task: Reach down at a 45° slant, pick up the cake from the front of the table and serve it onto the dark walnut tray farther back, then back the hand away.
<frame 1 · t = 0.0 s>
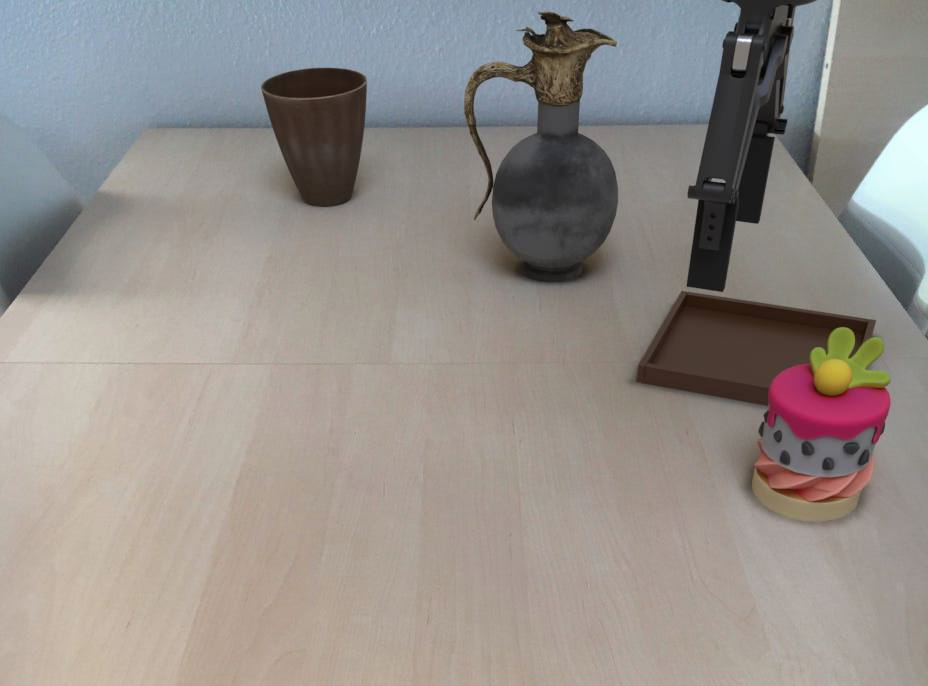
hand: (724, 252, 80), 24 cm above the table, tool pointing down, fingers open, 13 cm apart
flower pot: (326, 199, 155), on the table
cake: (803, 493, 97), on the table
tray: (756, 360, 116), on the table
pitcher: (538, 273, 134), on the table
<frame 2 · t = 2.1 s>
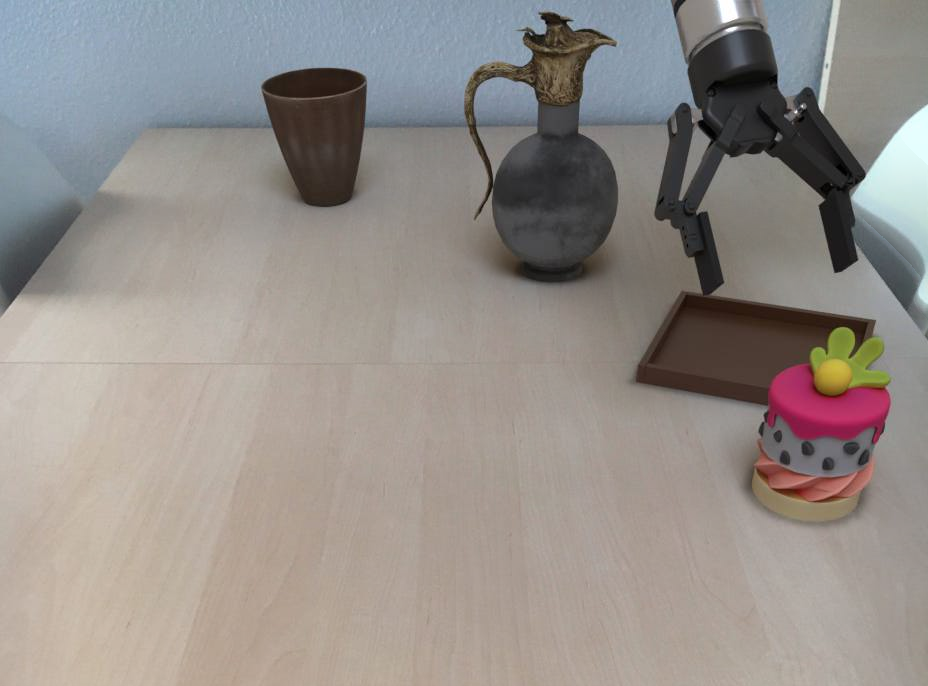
hand: (781, 278, 93), 17 cm above the table, tool tilted 45°, fingers open, 13 cm apart
nothing on the table moved.
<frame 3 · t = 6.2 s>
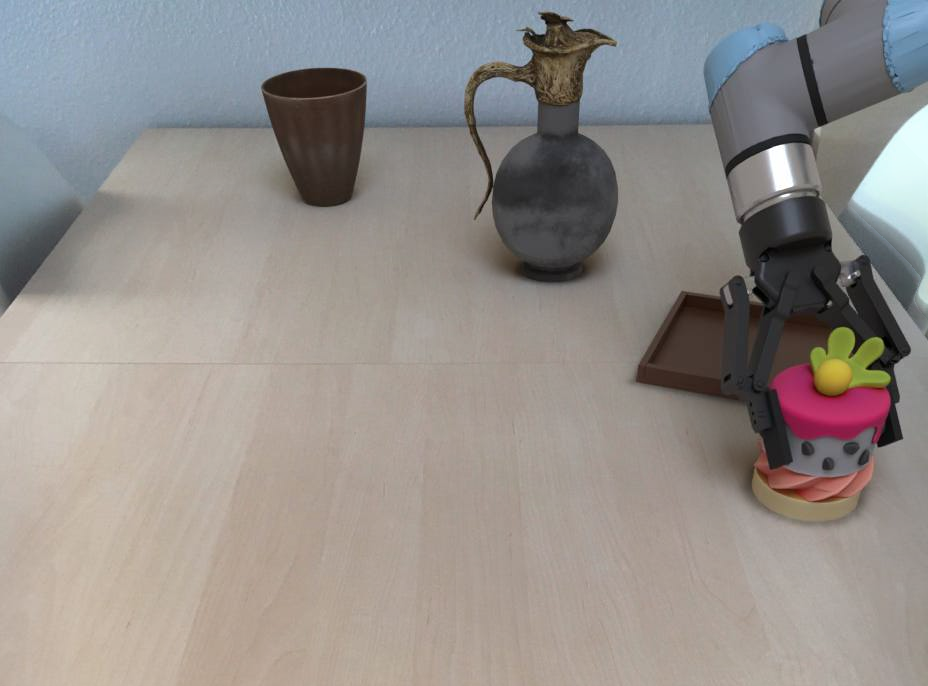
hand: (836, 454, 91), 6 cm above the table, tool tilted 45°, fingers closed on cake, 10 cm apart
cake: (803, 493, 97), on the table, touching gripper
everything else where it was.
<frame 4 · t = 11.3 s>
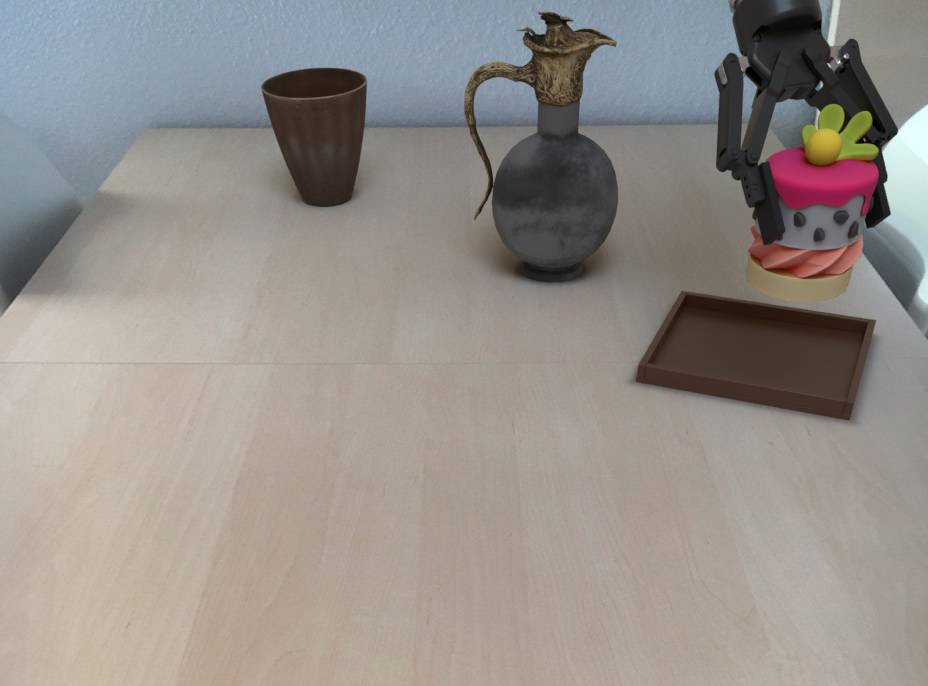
hand: (827, 230, 95), 19 cm above the table, tool tilted 45°, fingers closed on cake, 10 cm apart
cake: (795, 281, 101), point 13 cm above the table, touching gripper
everything else where it was.
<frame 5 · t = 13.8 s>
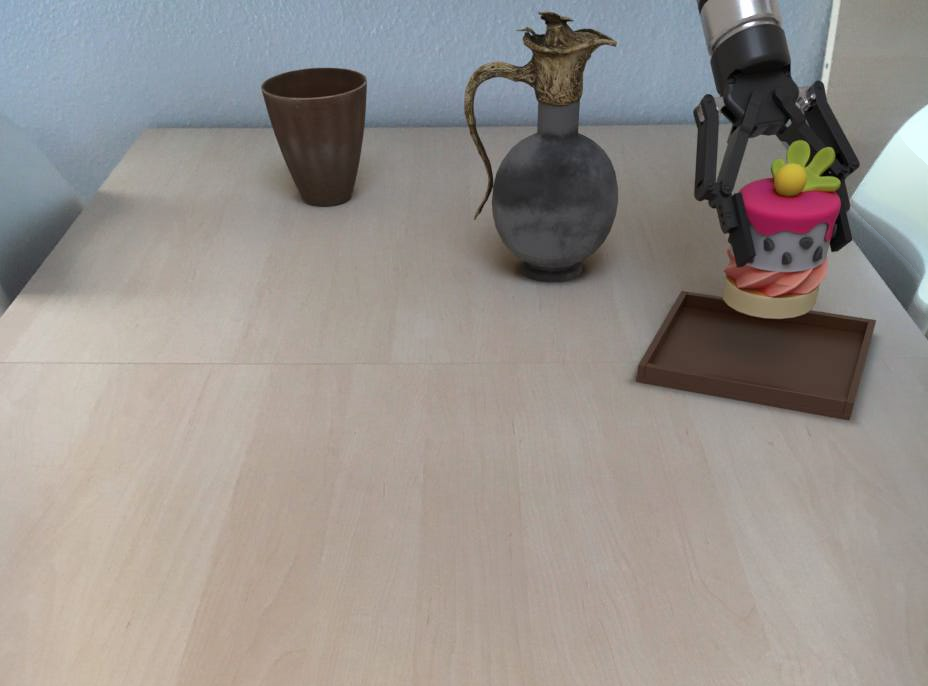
hand: (794, 253, 104), 13 cm above the table, tool tilted 45°, fingers closed on cake, 10 cm apart
cake: (768, 299, 111), point 7 cm above the table, touching gripper
everything else where it was.
when the fingers open (7 cm above the table, at t = 16.2 s): cake stays where it is, resting on tray.
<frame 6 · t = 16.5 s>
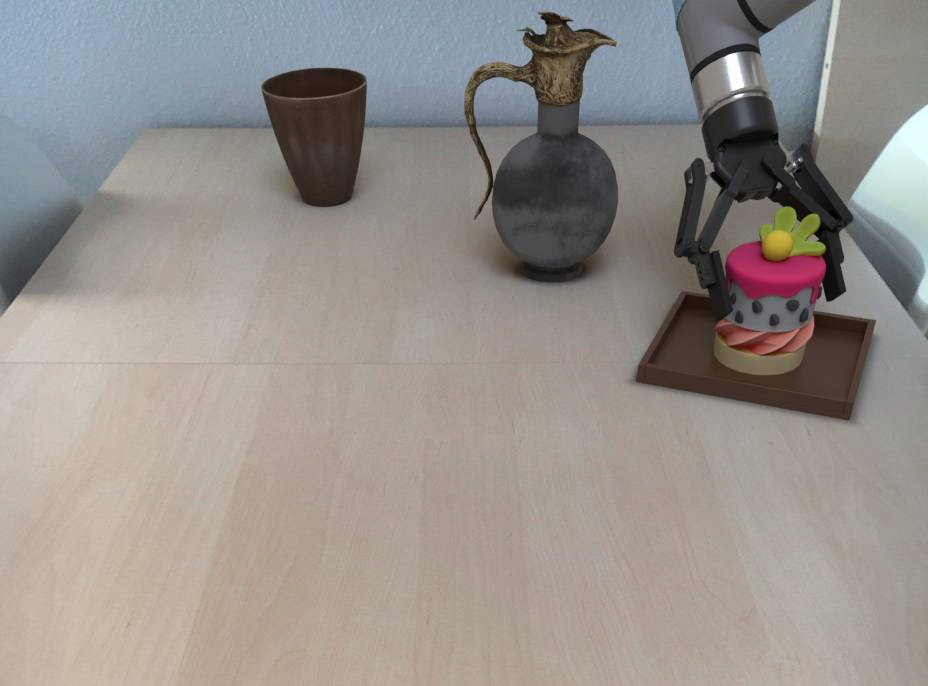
hand: (781, 306, 109), 7 cm above the table, tool tilted 45°, fingers open, 13 cm apart
cake: (757, 355, 115), point 1 cm above the table, touching tray
everything else where it was.
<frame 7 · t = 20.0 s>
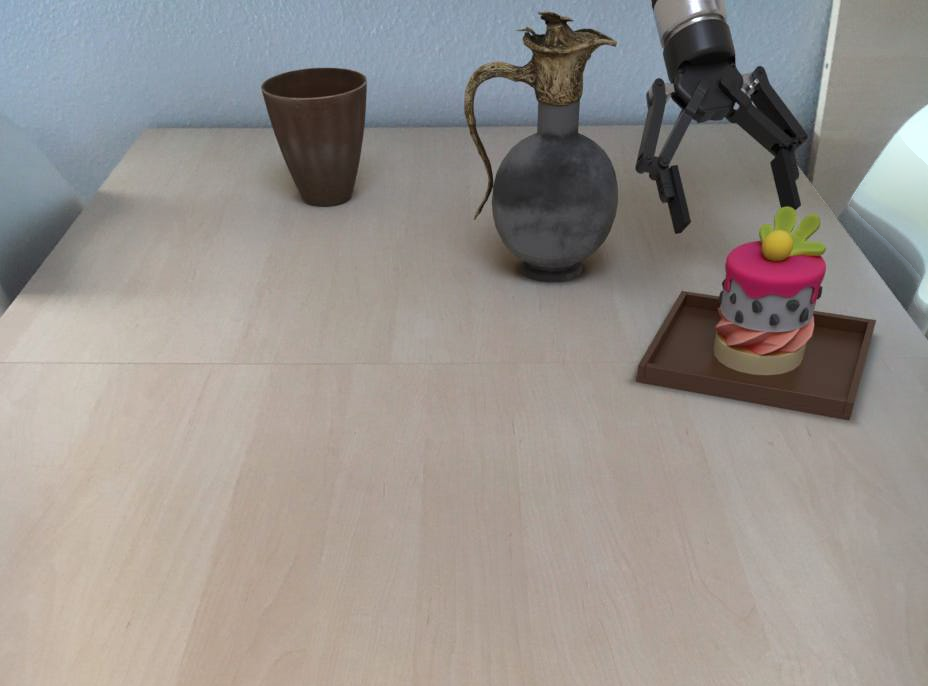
hand: (738, 220, 115), 12 cm above the table, tool tilted 45°, fingers open, 13 cm apart
nothing on the table moved.
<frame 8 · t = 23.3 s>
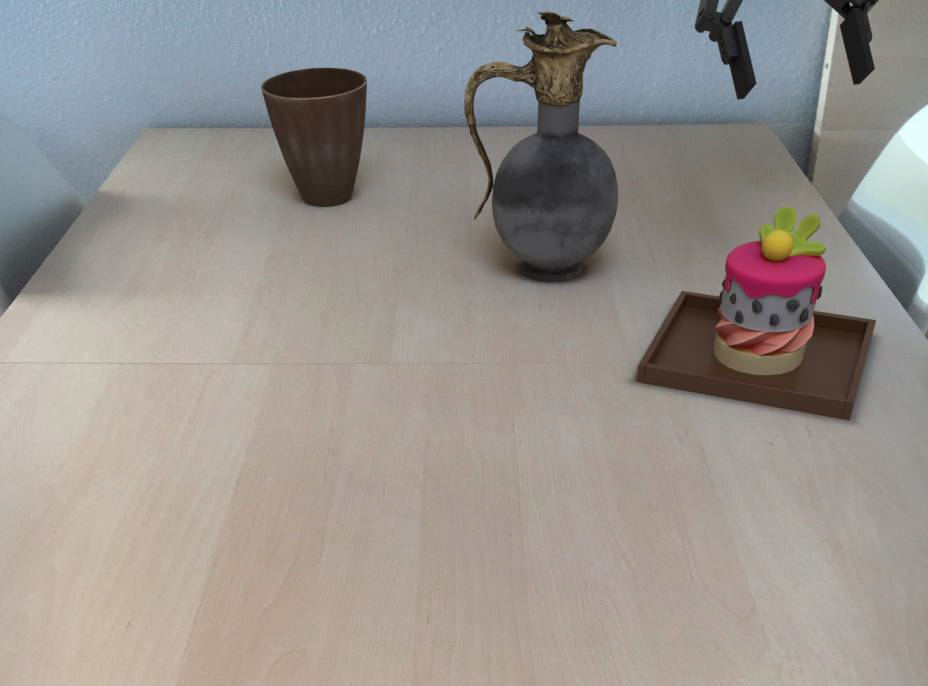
hand: (806, 84, 105), 26 cm above the table, tool tilted 45°, fingers open, 13 cm apart
nothing on the table moved.
at the end: cake inside the target area in the tray (0.1 cm from its centre), point 0.6 cm above the tray's base; cake tilted 0°; the gripper is holding nothing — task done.
